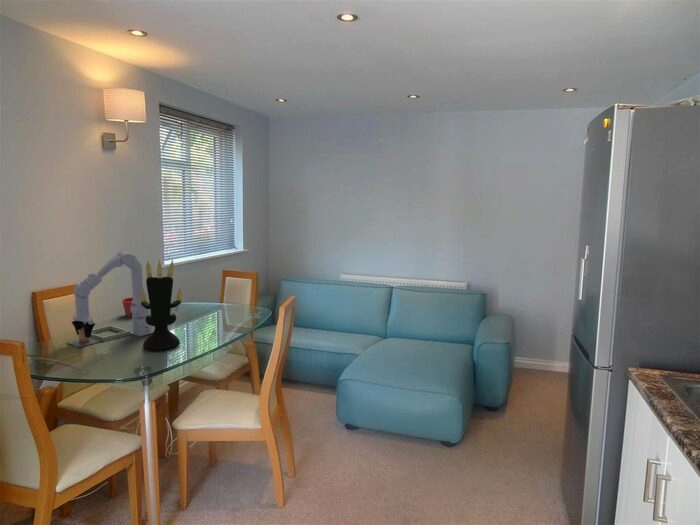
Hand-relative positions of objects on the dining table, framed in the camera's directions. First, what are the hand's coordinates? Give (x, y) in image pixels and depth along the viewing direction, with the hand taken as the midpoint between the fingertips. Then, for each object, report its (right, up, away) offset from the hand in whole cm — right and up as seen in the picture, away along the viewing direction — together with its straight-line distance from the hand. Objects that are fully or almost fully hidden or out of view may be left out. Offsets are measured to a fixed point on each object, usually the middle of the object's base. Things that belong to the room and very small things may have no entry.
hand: (83, 336), depth 238 cm
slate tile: (0, -3, 0) cm, 3 cm away
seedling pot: (0, -3, +1) cm, 3 cm away
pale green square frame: (+5, -2, +14) cm, 15 cm away
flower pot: (0, +4, +54) cm, 54 cm away
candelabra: (+40, -6, -4) cm, 41 cm away
